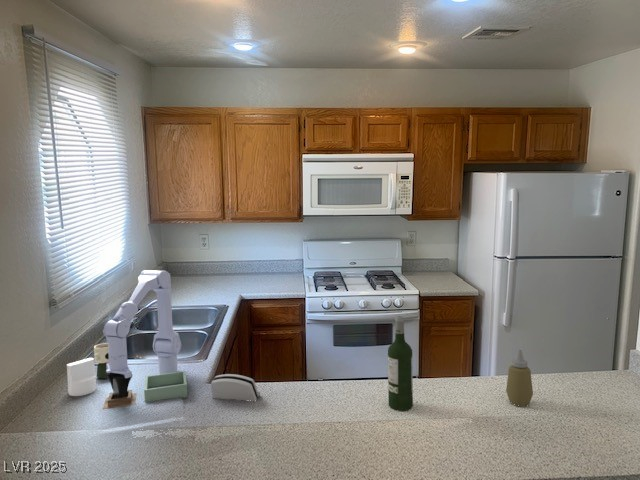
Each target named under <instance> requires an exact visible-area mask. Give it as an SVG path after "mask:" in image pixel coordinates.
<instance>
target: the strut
mask: <svg viewBox="0 0 640 480" xmlns="http://www.w3.org/2000/svg"><path fill="white" fill-rule="evenodd" d="M112 391H114V399H117V398H124V397H127V394H126V395H123V396H120V395H119V391H118V386H117V383H116V381H115V379H114V378H113V389H112Z"/></svg>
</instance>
